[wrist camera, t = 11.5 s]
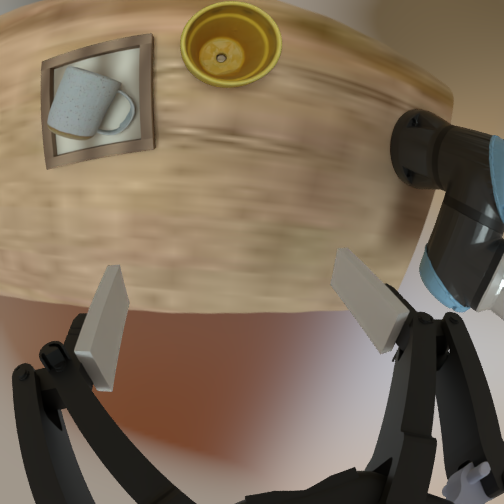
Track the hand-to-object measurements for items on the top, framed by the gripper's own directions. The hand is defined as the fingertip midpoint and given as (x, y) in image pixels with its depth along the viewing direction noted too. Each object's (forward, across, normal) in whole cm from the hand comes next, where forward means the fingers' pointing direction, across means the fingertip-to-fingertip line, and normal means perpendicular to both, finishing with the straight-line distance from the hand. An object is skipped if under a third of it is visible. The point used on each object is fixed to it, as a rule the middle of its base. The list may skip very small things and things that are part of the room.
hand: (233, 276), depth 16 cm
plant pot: (+25, -2, -17) cm, 30 cm away
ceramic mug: (+23, +14, -12) cm, 30 cm away
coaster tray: (+24, +15, -13) cm, 31 cm away
